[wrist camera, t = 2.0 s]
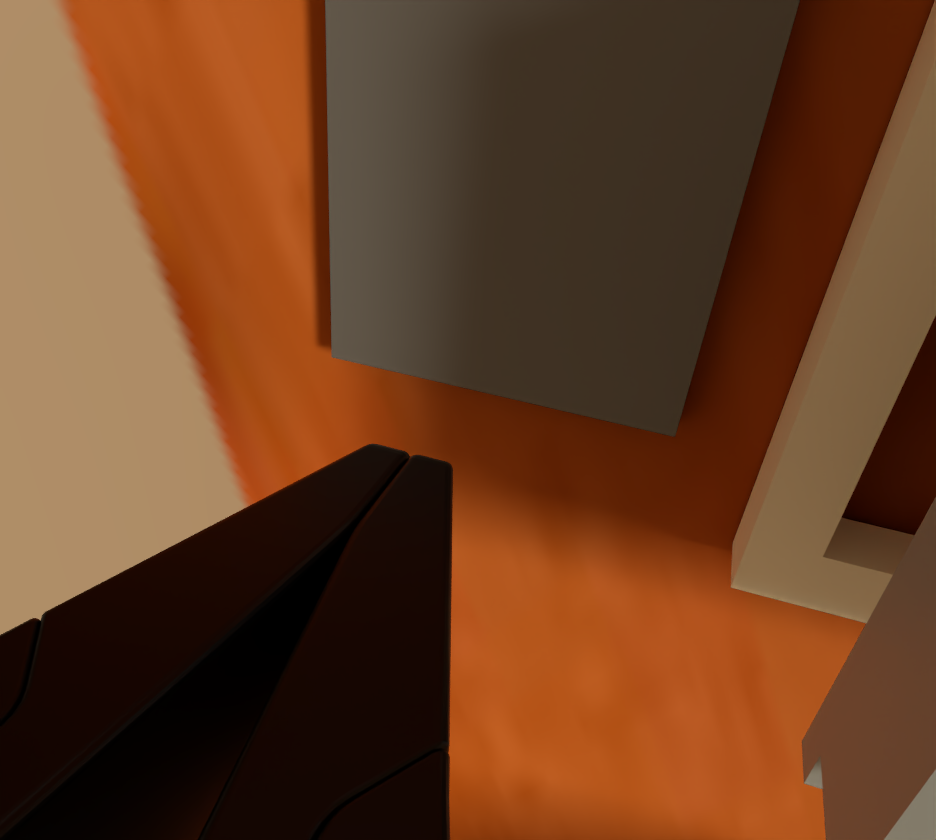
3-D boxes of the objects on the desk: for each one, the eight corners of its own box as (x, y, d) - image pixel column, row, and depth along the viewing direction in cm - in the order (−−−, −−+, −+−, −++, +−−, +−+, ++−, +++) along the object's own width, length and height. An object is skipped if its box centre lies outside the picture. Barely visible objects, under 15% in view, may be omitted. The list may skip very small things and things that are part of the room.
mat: (677, 421, 18) (675, 436, 18) (342, 344, 20) (331, 357, 19) (830, -117, 12) (832, -117, 12) (337, -168, 14) (322, -169, 13)
